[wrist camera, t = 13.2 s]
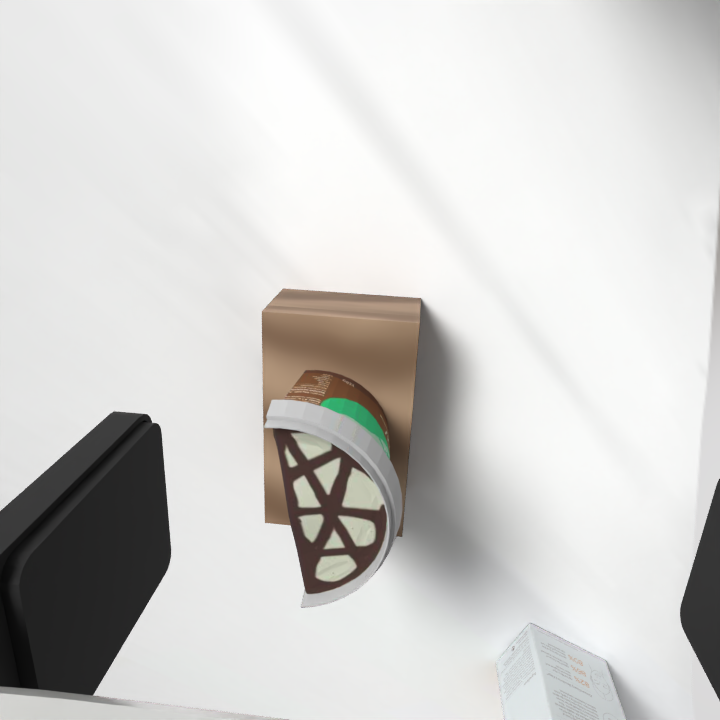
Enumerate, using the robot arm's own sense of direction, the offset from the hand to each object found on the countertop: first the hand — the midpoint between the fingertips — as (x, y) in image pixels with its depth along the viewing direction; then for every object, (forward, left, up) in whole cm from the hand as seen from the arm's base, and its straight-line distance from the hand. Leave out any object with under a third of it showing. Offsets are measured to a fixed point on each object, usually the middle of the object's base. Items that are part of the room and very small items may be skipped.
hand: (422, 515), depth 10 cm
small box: (+37, +14, -34) cm, 52 cm away
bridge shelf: (+13, -5, -33) cm, 36 cm away
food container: (+13, -3, -28) cm, 31 cm away
